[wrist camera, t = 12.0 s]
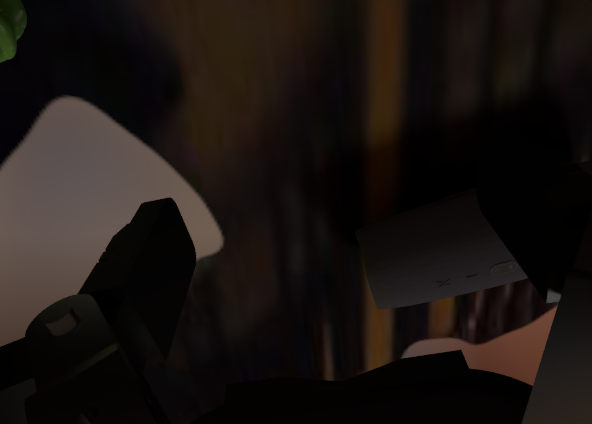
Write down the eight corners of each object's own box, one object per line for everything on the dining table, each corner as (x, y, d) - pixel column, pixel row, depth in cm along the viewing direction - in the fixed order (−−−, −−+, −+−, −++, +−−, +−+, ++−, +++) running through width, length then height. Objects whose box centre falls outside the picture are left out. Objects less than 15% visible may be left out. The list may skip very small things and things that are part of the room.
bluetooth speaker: (370, 269, 49) (386, 336, 40) (348, 204, 44) (361, 265, 36) (577, 213, 45) (643, 274, 37) (577, 135, 40) (653, 185, 32)
